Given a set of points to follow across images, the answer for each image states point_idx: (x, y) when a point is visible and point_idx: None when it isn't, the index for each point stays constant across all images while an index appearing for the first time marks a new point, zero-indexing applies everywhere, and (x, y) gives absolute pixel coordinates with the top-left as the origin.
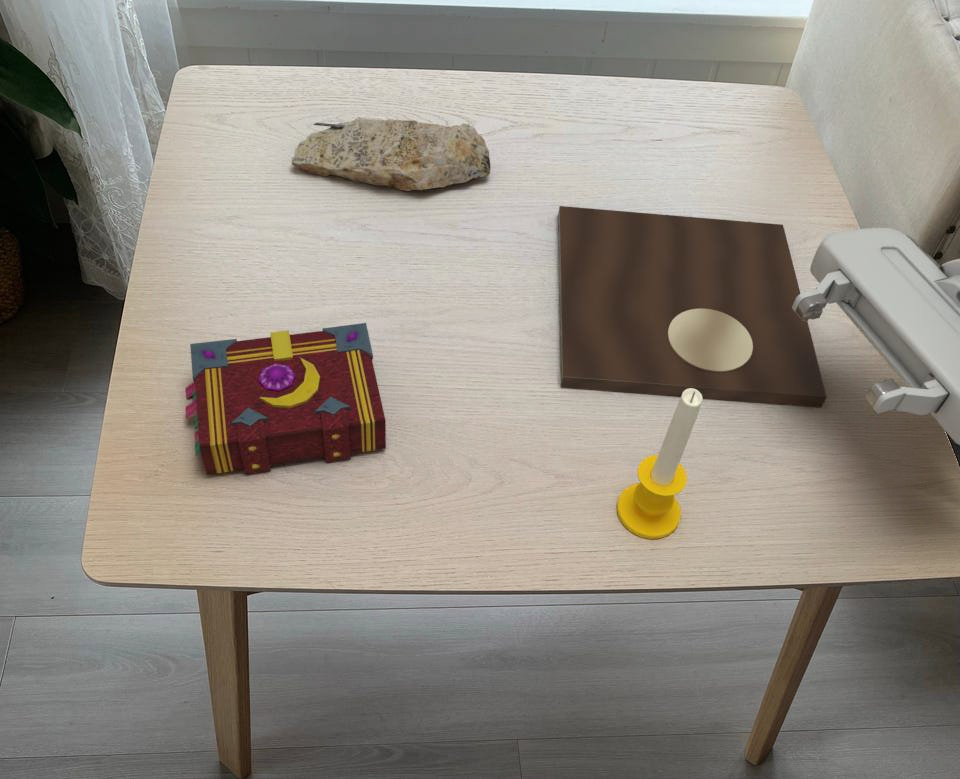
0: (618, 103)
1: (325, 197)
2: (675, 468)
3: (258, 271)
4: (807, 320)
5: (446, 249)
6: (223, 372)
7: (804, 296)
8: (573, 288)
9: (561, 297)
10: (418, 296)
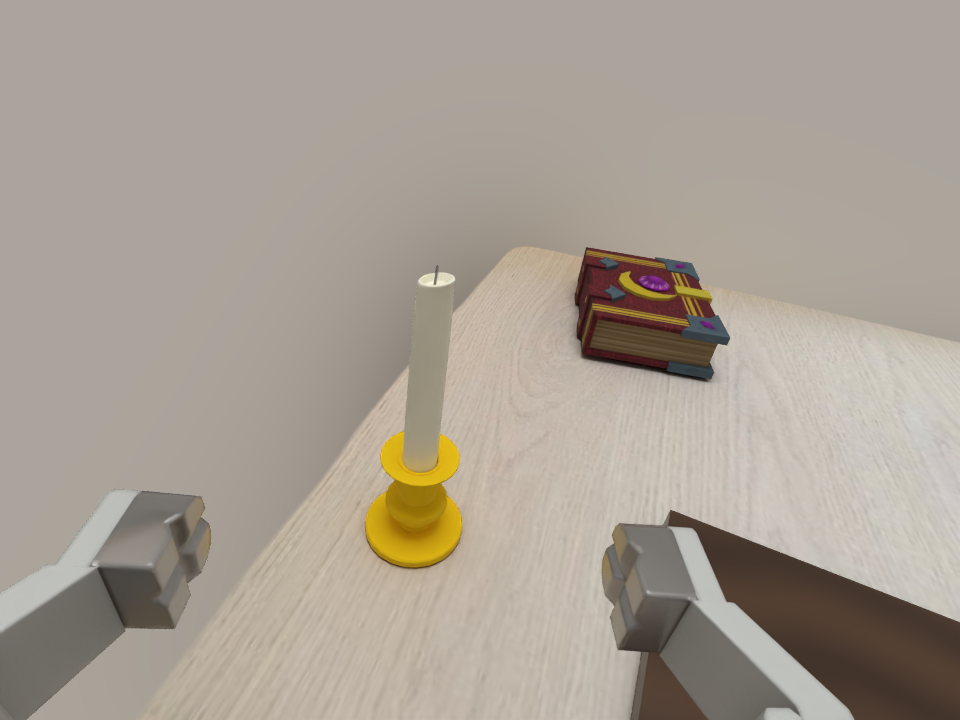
0: None
1: None
2: (405, 428)
3: (821, 354)
4: (604, 589)
5: (938, 506)
6: (661, 268)
7: (678, 533)
8: (898, 615)
9: (864, 585)
10: (821, 447)
